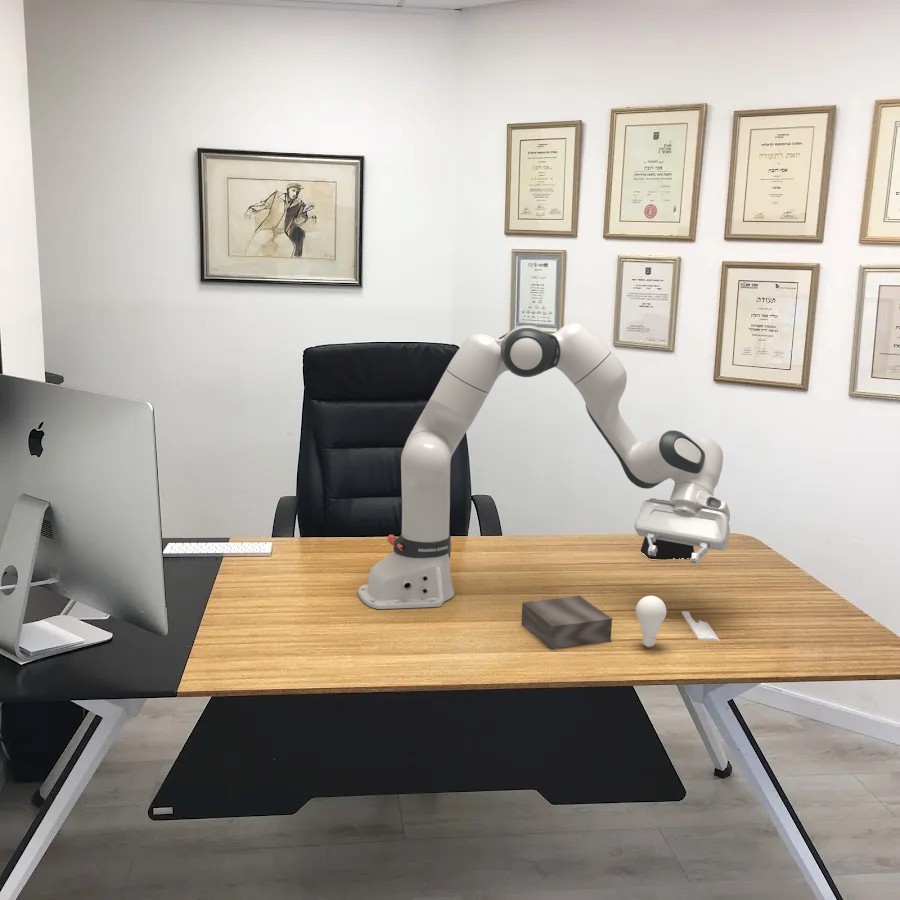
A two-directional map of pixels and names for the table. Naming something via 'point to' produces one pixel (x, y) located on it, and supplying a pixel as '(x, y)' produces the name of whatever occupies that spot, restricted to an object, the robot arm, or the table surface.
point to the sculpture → (668, 549)
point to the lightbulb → (650, 617)
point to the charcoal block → (566, 622)
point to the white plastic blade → (700, 628)
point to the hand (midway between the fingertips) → (672, 558)
